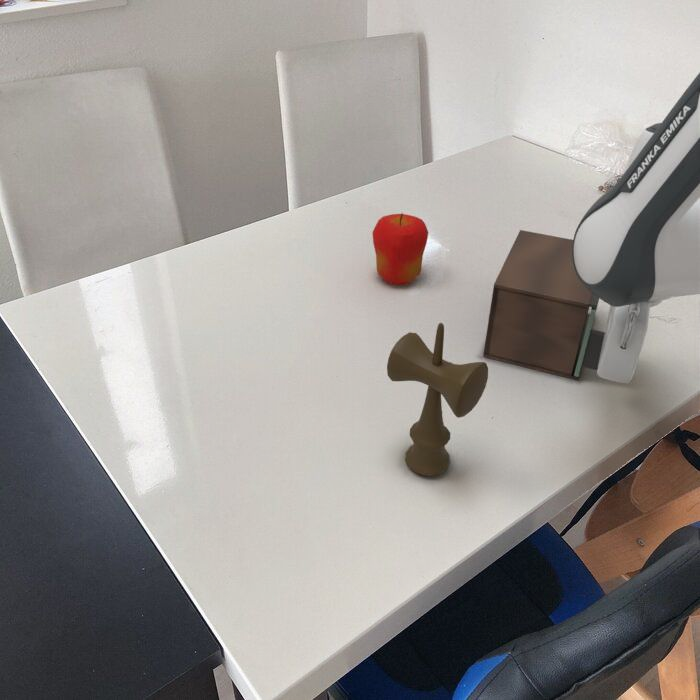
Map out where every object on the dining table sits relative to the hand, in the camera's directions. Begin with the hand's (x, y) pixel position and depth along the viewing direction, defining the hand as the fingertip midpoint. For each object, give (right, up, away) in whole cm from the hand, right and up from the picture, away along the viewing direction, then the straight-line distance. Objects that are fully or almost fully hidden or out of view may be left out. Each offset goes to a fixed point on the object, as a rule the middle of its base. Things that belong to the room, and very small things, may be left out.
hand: (611, 364), depth 84 cm
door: (+2, 0, +9) cm, 9 cm away
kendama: (-23, -12, -5) cm, 26 cm away
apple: (-24, +13, +28) cm, 39 cm away
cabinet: (-5, +4, +15) cm, 16 cm away
